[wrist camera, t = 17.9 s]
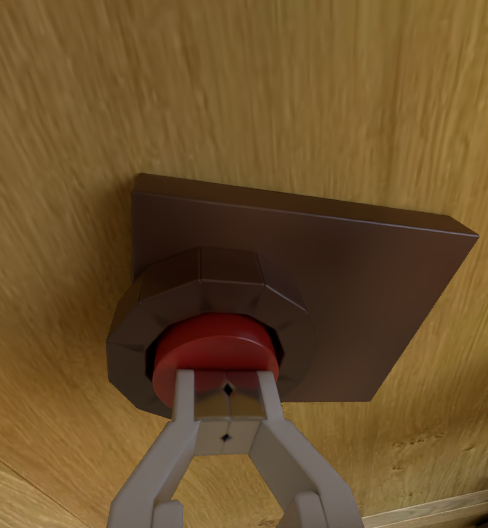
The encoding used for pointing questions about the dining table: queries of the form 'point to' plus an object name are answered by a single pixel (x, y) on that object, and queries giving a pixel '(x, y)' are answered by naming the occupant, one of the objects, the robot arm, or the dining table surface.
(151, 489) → the robot arm
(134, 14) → the dining table surface
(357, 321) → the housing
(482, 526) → the bent grey cylinder
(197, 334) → the button
